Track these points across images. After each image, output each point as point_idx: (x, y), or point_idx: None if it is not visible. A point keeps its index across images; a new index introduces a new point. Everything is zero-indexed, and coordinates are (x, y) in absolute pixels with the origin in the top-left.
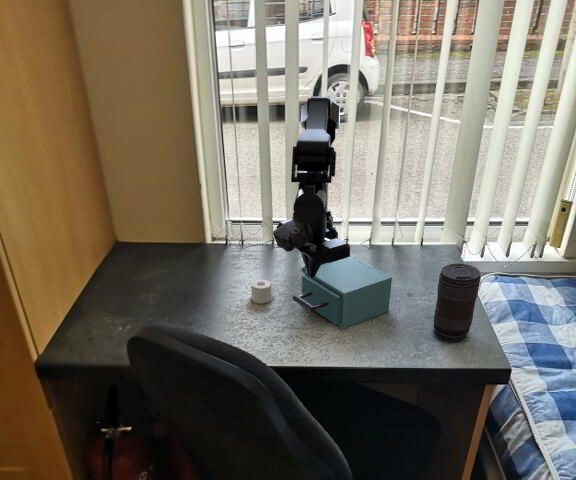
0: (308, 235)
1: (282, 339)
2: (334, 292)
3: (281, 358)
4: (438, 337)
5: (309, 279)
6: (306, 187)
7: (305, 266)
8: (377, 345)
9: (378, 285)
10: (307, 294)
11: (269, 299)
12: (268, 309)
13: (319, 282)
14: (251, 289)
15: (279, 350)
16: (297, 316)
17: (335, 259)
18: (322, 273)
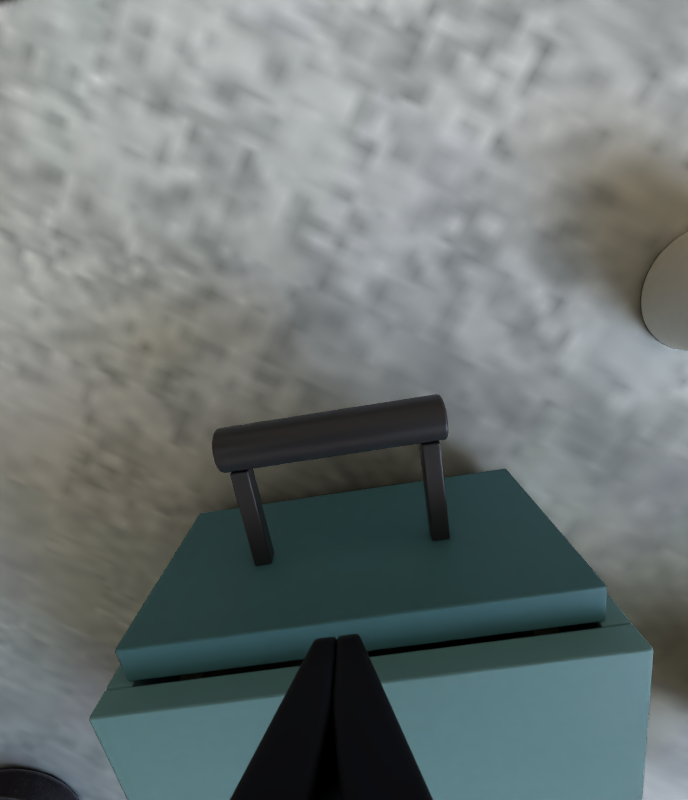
0: None
1: (208, 202)
2: (206, 665)
3: (7, 100)
4: (5, 773)
5: (505, 606)
6: None
7: (402, 759)
8: (20, 582)
9: None
10: (428, 507)
11: (653, 320)
12: (564, 274)
13: (519, 637)
14: None
15: (96, 128)
16: (405, 390)
17: None
18: (497, 730)
